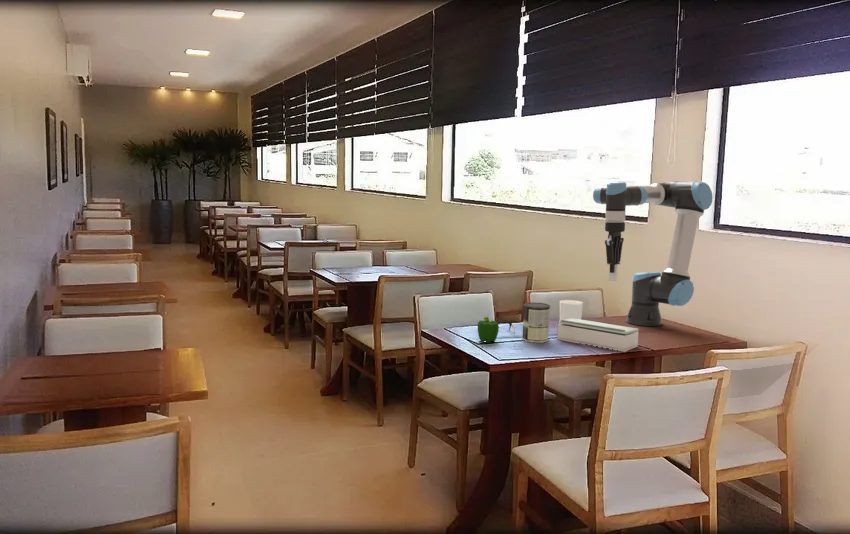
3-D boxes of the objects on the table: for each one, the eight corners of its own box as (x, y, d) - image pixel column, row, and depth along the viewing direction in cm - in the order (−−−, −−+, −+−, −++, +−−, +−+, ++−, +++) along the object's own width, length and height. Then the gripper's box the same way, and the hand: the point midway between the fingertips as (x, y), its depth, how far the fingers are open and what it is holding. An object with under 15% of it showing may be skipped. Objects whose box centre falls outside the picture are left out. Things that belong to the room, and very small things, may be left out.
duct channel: (571, 334, 281) (572, 320, 280) (637, 346, 263) (638, 331, 263) (557, 339, 272) (558, 324, 271) (624, 351, 254) (625, 336, 253)
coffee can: (516, 339, 270) (518, 304, 268) (532, 335, 277) (533, 301, 276) (537, 344, 263) (539, 308, 261) (553, 340, 270) (555, 305, 268)
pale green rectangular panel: (572, 320, 280) (572, 316, 280) (638, 330, 263) (638, 327, 262) (558, 323, 271) (558, 319, 271) (625, 334, 253) (625, 330, 253)
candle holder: (574, 326, 296) (575, 299, 295) (586, 331, 287) (587, 303, 286) (553, 327, 293) (555, 300, 292) (565, 332, 284) (566, 304, 283)
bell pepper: (488, 338, 271) (489, 313, 270) (502, 342, 264) (503, 317, 263) (471, 340, 267) (472, 315, 265) (485, 344, 260) (486, 319, 259)
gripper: (612, 220, 277) (610, 277, 280) (599, 222, 267) (597, 281, 270) (630, 220, 272) (628, 279, 276) (617, 223, 262) (615, 283, 266)
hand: (613, 280), depth 273 cm, fingers closed
